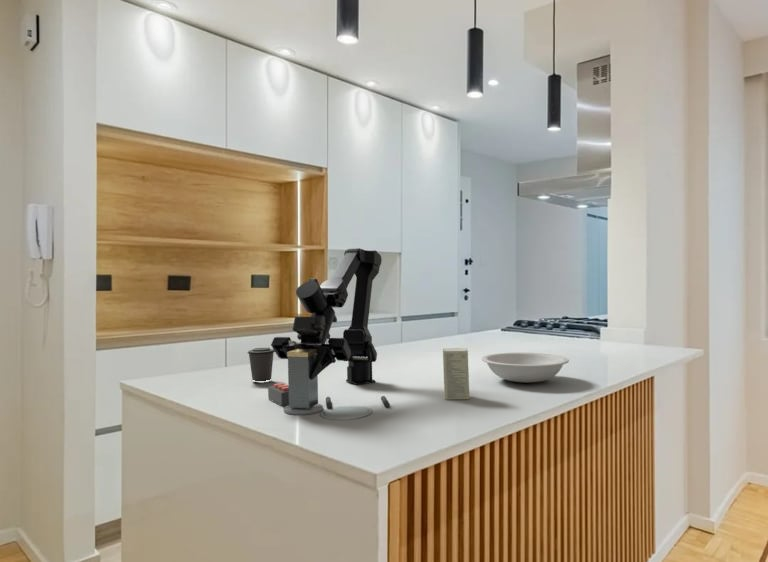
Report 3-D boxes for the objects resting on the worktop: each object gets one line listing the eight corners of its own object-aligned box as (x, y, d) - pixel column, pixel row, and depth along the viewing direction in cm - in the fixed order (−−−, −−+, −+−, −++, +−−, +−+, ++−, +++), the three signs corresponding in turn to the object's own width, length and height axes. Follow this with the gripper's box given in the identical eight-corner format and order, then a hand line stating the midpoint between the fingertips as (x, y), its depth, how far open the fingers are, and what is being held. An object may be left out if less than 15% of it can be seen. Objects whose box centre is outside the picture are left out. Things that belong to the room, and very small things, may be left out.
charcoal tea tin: (298, 402, 124) (297, 348, 124) (318, 403, 123) (317, 349, 122) (288, 407, 119) (287, 352, 119) (309, 408, 118) (307, 352, 117)
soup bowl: (465, 379, 154) (464, 356, 154) (525, 371, 166) (524, 350, 166) (524, 394, 133) (523, 368, 133) (587, 383, 145) (587, 359, 145)
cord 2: (380, 400, 128) (380, 396, 128) (385, 400, 128) (385, 395, 128) (384, 407, 121) (384, 402, 121) (389, 407, 122) (389, 402, 122)
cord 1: (325, 401, 129) (325, 396, 129) (330, 401, 129) (330, 396, 129) (326, 408, 122) (326, 403, 122) (331, 408, 122) (331, 403, 122)
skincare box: (468, 395, 132) (467, 347, 132) (469, 400, 128) (468, 350, 128) (443, 395, 133) (442, 348, 133) (443, 399, 128) (442, 350, 128)
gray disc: (312, 403, 127) (312, 400, 127) (329, 410, 119) (329, 408, 119) (277, 408, 122) (277, 406, 122) (292, 417, 115) (292, 414, 115)
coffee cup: (281, 380, 157) (280, 347, 157) (261, 385, 150) (261, 350, 150) (262, 378, 161) (261, 345, 161) (241, 382, 154) (241, 349, 154)
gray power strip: (268, 399, 132) (268, 383, 132) (284, 396, 135) (284, 381, 135) (281, 406, 125) (281, 389, 125) (298, 403, 127) (298, 387, 127)
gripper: (273, 303, 127) (250, 356, 117) (345, 303, 122) (327, 358, 111) (289, 332, 135) (269, 383, 124) (357, 333, 129) (342, 387, 119)
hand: (300, 378), depth 120 cm, fingers closed on charcoal tea tin, 5 cm apart
